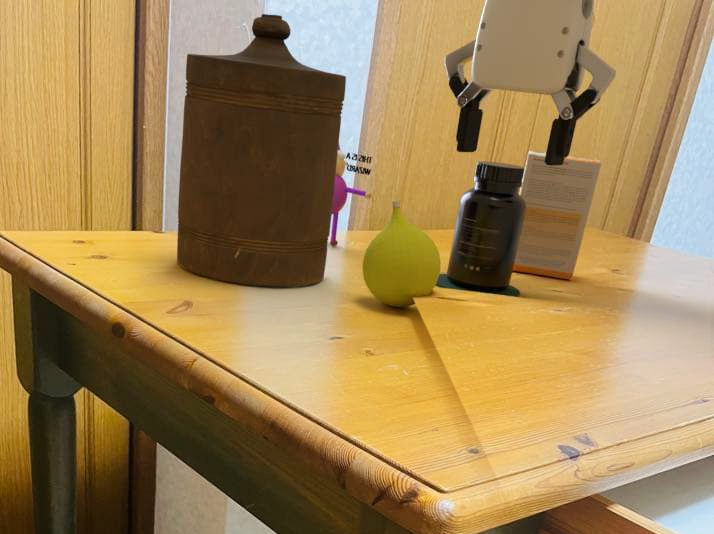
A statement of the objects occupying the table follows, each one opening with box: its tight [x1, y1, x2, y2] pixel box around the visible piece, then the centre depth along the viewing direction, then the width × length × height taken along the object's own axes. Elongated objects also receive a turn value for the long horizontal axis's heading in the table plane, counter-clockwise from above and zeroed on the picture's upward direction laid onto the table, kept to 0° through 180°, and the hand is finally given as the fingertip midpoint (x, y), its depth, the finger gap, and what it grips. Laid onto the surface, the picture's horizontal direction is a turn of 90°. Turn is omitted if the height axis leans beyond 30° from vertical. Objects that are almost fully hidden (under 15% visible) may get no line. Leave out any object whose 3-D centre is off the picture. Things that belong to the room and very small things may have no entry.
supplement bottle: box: [446, 160, 526, 292], centre depth 88 cm, size 7×7×12 cm
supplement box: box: [512, 150, 602, 281], centre depth 100 cm, size 8×5×13 cm, turn 77°
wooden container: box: [176, 13, 347, 288], centre depth 80 cm, size 15×15×22 cm
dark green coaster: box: [435, 273, 521, 298], centre depth 91 cm, size 10×10×1 cm
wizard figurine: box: [329, 143, 373, 247], centre depth 99 cm, size 11×3×12 cm, turn 49°
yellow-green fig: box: [362, 187, 442, 308], centre depth 76 cm, size 7×7×10 cm
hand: (508, 158), depth 84 cm, fingers open, 9 cm apart
